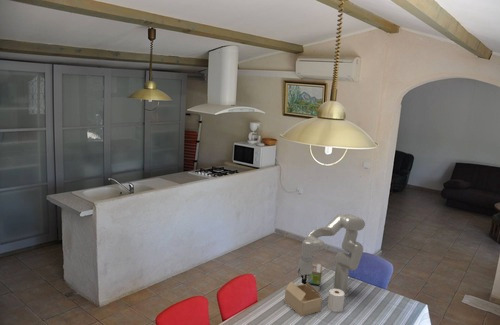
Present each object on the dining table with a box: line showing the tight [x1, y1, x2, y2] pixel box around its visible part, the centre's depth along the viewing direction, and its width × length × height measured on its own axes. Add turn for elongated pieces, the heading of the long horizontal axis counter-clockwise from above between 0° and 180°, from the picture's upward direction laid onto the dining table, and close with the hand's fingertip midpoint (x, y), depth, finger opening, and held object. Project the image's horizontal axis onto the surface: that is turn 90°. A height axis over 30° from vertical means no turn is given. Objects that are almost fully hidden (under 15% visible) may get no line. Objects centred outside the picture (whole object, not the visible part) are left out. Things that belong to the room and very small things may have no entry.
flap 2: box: [305, 281, 322, 297], centre depth 276 cm, size 6×18×1 cm
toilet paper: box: [327, 287, 345, 313], centre depth 274 cm, size 10×10×12 cm
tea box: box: [306, 262, 323, 291], centre depth 304 cm, size 15×10×15 cm
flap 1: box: [285, 281, 306, 301], centre depth 270 cm, size 6×18×1 cm
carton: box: [284, 283, 323, 317], centre depth 274 cm, size 16×21×10 cm
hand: (303, 283), depth 272 cm, fingers closed
